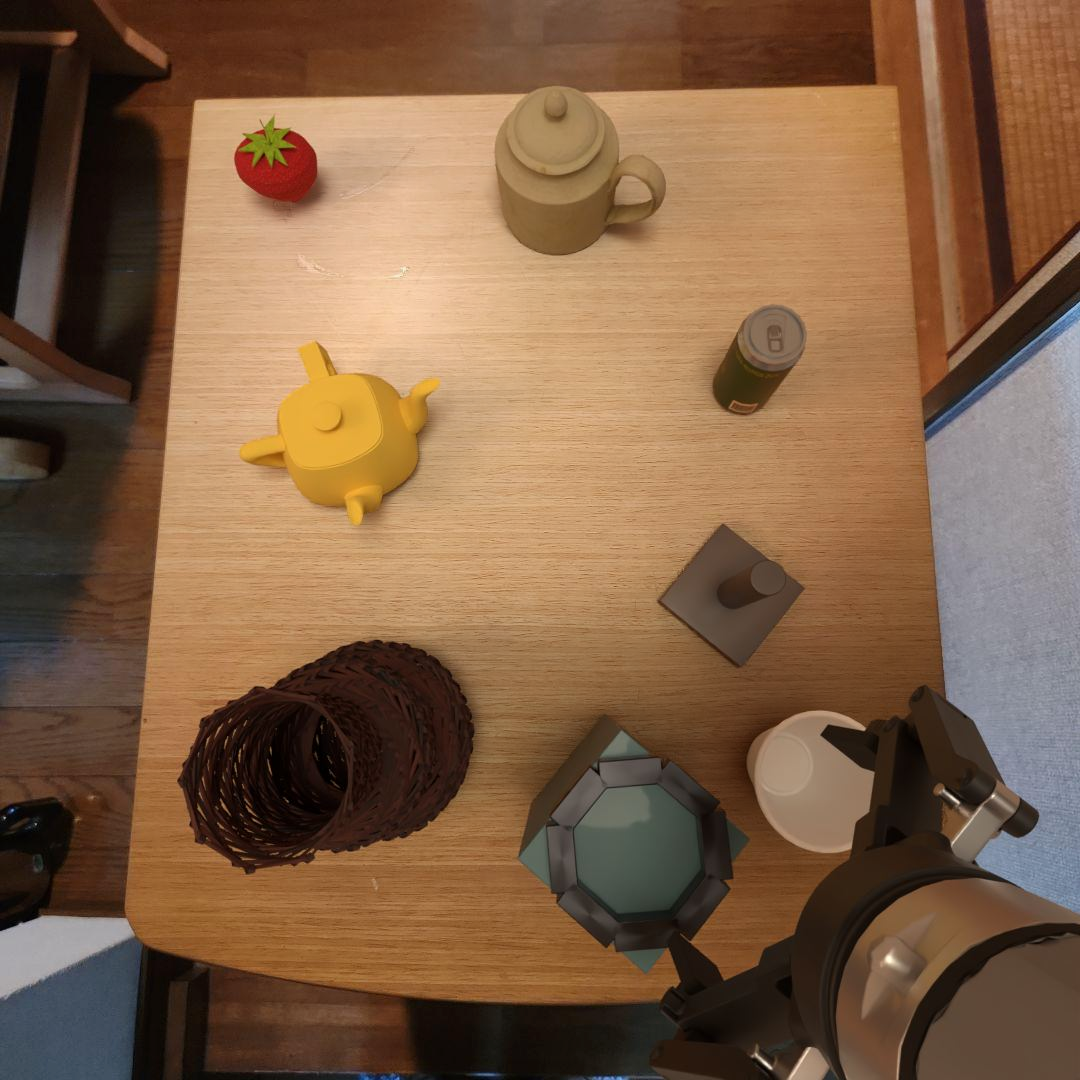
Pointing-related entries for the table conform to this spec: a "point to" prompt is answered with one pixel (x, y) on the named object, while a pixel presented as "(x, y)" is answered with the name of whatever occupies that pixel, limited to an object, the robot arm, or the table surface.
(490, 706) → the table surface
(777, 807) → the cup
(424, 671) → the vase
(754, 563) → the holder
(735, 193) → the table surface
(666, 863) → the stand
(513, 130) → the lidded mug
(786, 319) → the beer can
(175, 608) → the table surface
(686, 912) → the ring
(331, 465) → the teapot
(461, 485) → the table surface
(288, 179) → the strawberry
